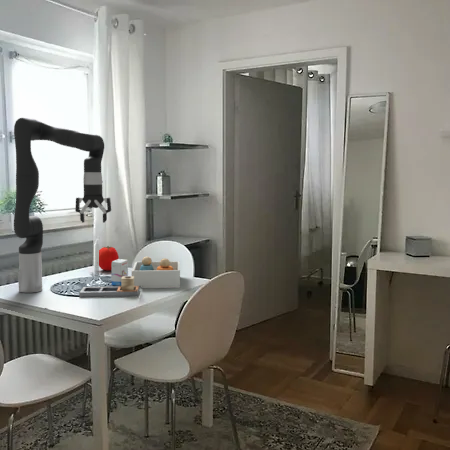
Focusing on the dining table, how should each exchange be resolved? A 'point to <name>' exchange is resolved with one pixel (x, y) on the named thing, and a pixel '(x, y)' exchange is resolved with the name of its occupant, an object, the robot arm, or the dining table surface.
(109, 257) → the tomato
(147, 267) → the wooden peg dolls
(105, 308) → the dining table surface
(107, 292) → the gray sorting tray
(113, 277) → the ink box
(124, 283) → the beige upright block
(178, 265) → the box
